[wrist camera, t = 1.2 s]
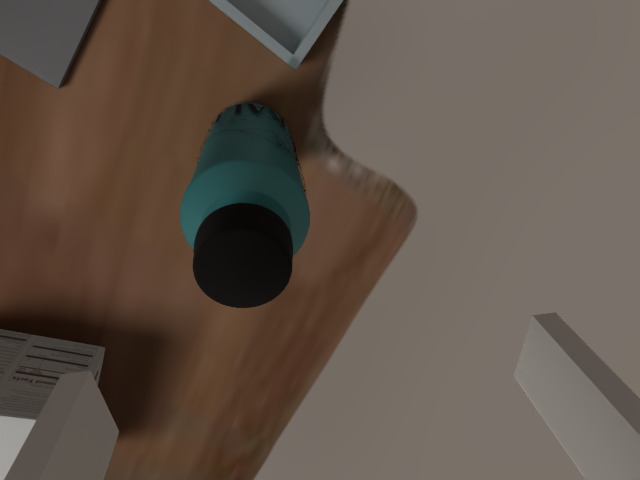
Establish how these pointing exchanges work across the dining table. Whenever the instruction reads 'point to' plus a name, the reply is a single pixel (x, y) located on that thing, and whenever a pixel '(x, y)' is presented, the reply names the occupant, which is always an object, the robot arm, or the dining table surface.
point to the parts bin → (282, 23)
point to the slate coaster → (45, 34)
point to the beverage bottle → (245, 208)
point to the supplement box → (34, 382)
